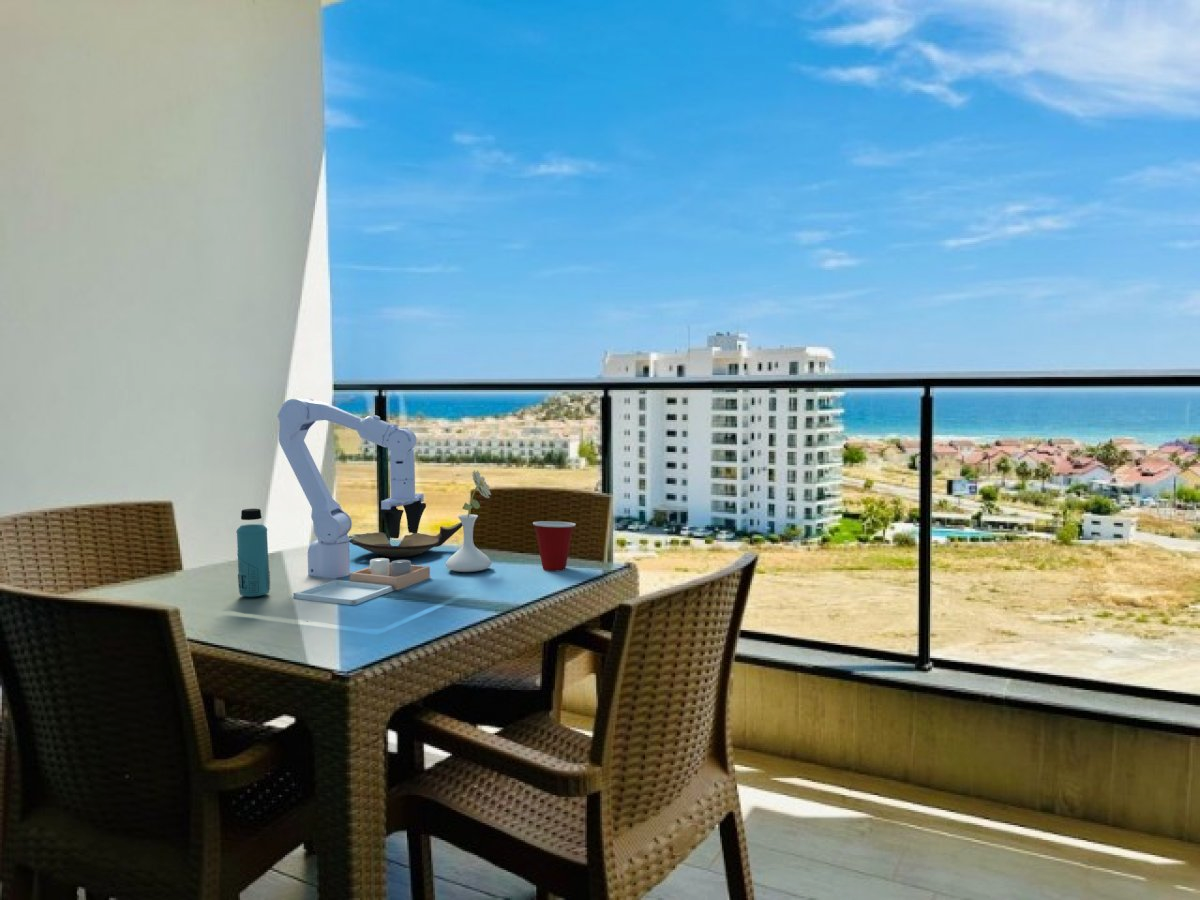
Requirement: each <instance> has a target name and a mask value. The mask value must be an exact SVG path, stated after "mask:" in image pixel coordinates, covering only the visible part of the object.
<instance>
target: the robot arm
mask: <svg viewBox="0 0 1200 900" xmlns="http://www.w3.org/2000/svg"><path fill="white" fill-rule="evenodd" d="M277 418H278V421H279V424H278V425H279V427H278V428H279V429H278V442H279V445H280V447H281V449H282V451H283V453H284V455H285V457H286V459H287V461H288V463H289V465H290V468H291V469H292V471H293V473H294V475H295V477H296V480H297V482H298V483H299V485H300V487H301V489H302V491H303V493H304V495H305V497H306V499H307V501H308V503H309V505H310V507H311V513H310V514H311V521H312V522H313V532H314V535H315V537H316V540H313V541H311V543H310V544H309V546H308V548H307V549H308V550H307V573H308V574H307V575H308V576H310V577H311V576H313V577H319V578H324V579H330V578H331V579H335V578H344V577H347V576H350V573H351V568H350V567H351V566H350V565H351V562H350V561H351V559H350V556H351V555H350V542H349V540H350V538H349V535H348V534H349V532H350V531H351V529H352V526H353V522H352V521H353V520H352V519H351V517H350V515H349V514H348V513H347V512H345V511H344V510H343V509H342V507H341V504H339V503H338V502H337V501H336V500H335V499H334V498H333V497H332V495H331V492H330V491H329V488H328V487H327V485H326V483H325V481H324V478H323V477H322V475H321V472H320V469H319V468H318V466H317V464H316V462H315V461H314V458H313V456H312V454H311V452H310V450H309V448H308V447H307V444H306V442H305V440H306V436H307V434H308V432H309V430H310V428H311V427H312V426H313V425H314V424H315V423H316V422H318V421H319V422H321V421H328V422H330V423H333V424H336V425H339V426H341V427H344V428H347V429H350V430H353V431H356V432H357V433H358V435H359V437H360V438H361V439H362V440H365V441H367V442H371V443H373V444H376V445H378V446H381V447H383V448H387V449H388V450H389V451H390V455H389V456H390V459H389V466H390V467H389V468H390V469H389V470H390V472H389V473H390V476H389V477H390V478H389V479H390V480H389V481H390V482H389V483H390V497H389V498H385V499H384V500H381V501H380V502H381V503H380V504H381V506H380V507H381V508H379V514H380V515H381V517H382V518H383V520H384V523H385V525H386V528H387V532H388V535H389V536H388V537H389V538H390V539H399V538H400V532H401V521H402V517H403V513H404V512H405V516H406V523H407V526H406V527H407V530H408V533H409V534H413V533H419V532H418V531H419V526H420V523H421V518H422V516H423V513H424V511H425V509H426V508H427V503H426V502H424V500H425V497H424V496H425V495H424V493H416V474H415V473H416V472H415V471H416V469H415V467H416V465H415V449H414V448H415V446H416V445H417V436H416V434H415V432H413V431H412V429H409V428H408V427H399V424H398V423H393V424H392V423H389V422H387V421H385V420H382V419H381V417H380V416H378V415H375V414H374V415H373V416H371V415H368V416H366V417H364V418H363V417H360V416H358V415H355V414H353V413H350V412H349V411H346V410H344V409H341V408H339V407H337V406H335V405H333V404H330V403H327V402H324V401H321V400H314V399H313V398H311V397H310V398H309V397H305V398H291V399H287V400H286V401H285V402H284V403H283V404H282V406H281V408H280V410H279V411H278V414H277ZM398 507H403V509H399V508H398Z"/></svg>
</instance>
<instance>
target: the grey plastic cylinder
mask: <svg viewBox="0 0 1200 900" xmlns="http://www.w3.org/2000/svg"><path fill="white" fill-rule="evenodd" d="M390 563H391V572H392V575H391V576H392V577H398V576H400V575H403V574H406V573H409V572H411V565H412V562H411V560H409V559H397V560H392V561H391V562H390Z"/></svg>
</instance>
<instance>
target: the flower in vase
mask: <svg viewBox="0 0 1200 900" xmlns="http://www.w3.org/2000/svg"><path fill="white" fill-rule="evenodd" d="M472 480H473V482H474V484H475V488H474V490H473V493H472V495H471V498H470V502H469V504H468V503H467V502H464V504H463V506H462V510H465V511H468V512H467V514H466V513H465V514H459V515H457V518H458V519H459V521H460V522H461V523H462V530H463V542H462V546H461V547H460V548H459V549H458V550H457V551H456V552H454V553H453V554H452V555H451V556H449V558H448V559H447V560H446V563H445V566H446V568H447V569H449V570H451V571H454V572H460V573H473V572H479V571H484V570H486V569H488V568H490V567H491V565H492V561H491V559H490V557H488V556H487V554H485V553H484V552H482V551H481V550H480V549H478V548H477V547H476V545H475V544H474V538H473V537H474V536H473V535H474V526H475V522H476V520H477V519H478V517H479V515H478V514H471V513H470V512H471V509H472V508H474V509H476V510H478V509H480V507H481V505H480V503H479V501H477V499H474V495H475V494H476V492H477V490H478V492H479V494H480V496H482V497H484V498H486V499H490V496H492V493H491V491H490V486H489V484H487V483H488V482H486V481H485V477H484V476H481V474H480V472H479V470H475V469H474V470H473V471H472ZM489 495H490V496H489Z"/></svg>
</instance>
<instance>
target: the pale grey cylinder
mask: <svg viewBox="0 0 1200 900" xmlns="http://www.w3.org/2000/svg"><path fill="white" fill-rule="evenodd" d="M389 563H390V558H385V557H380V558H379V557H377V558H371V559H370V560H369V567H370V574H372V575H382V576H391V575H390V573H389Z"/></svg>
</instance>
